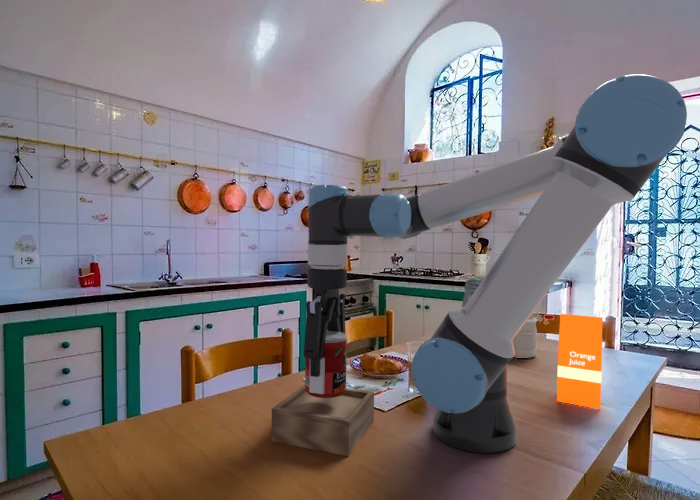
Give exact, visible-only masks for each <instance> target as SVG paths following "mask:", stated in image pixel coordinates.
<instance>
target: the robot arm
mask: <svg viewBox="0 0 700 500" xmlns="http://www.w3.org/2000/svg"><path fill="white" fill-rule="evenodd" d="M687 119H688V112H687V105H686V102H685V99H684V98H683V96H682V93H680V92H679V90H678V89H677V87H675V85H673V84H671V83H670V82H668V81H667V80H665V79H664V78H660V77H658V76H654V75H648V74H628V75H627V74H626V75H623V76H620V77H616V78H614V79H610V80H609V81H607V82H604V83H603V84H601V85H600V86H598V87H597V88H596V89H594V90H593V91H592V92H591V93H590V94H589V96H587V98H586V99H585V100H584V102H583V103H582V104H581V106H580V108H579V110H578V113H577V115H576V119H575V123H574V126H573V128H572V129H571V131H570V132H569V134H568V133H567V134H566V135H562V136H561V137H558V138H557V140H556V142H555V144H554V145H553V146H550V147H548V148H544V149H542V150H539V151H535V152H533V153H530V154H526V155H524V156H521V157H519V158H516V159H513V160H510V161H507V162H505V163H502V164H500V165H496V166H492V167H490V168H487V169H485V170H482V171H479V172H476V173H474V174H471V175H468V176H465V177H462V178H459V179H457V180H454V181H451V182H448V183H445V184H443V185H442V184H441V185H440V186H436V187H433V188H431V189H428V190H425V191H422V192H420V193H418V194H414V195H412V196H409V197H406V196H405V195H403V194H397V193H395V194H393V193H382V194H365V195H364V194H362V195H350V194H349V189H348V188H347V186H344V185H340V184H319V185H318V184H317V185H314V186H312V187H311V188H309V192H308V196H309V197H308V205H307V213H308V214H307V215H308V218H307V219H308V222H307V223H308V243H307V244H308V245H307V246H308V247H307V249H306V254H307V265H308V266H310V267H309V268H308V269H307V286H308V288H309V289H314V295H313V300H312V301H311V300H310V301H309V300H307V301H306V303H305V308H306V309H305V311H306V319H305V332H304V345H303V357H304V358H305V357H307V358H310V377H309V392H311V393H317V394H324V389H325V358H323V351H324V345H325V339H326V332H327V331H333V332H342V333H344V334H346V315H345V313H346V312H345V302H346V301H345V300H346V293H340V290H341V289H346V287H347V284H348V280H347V279H348V270H347V269H346V268H345V267H346V266H347V265H348V239H349V237H367V238H368V237H369V238H370V237H371V238H372V237H373V238H374V237H375V238H385V239H386V238H403V239H410V238H414V237H418V236H419V235H420V234H421V233H423V232H424V233H425V232H426V231H429V230H432V229H436V228H438V227H442V226H445V225H448V224H451V223H456V222H458V221H459V222H460V221H462V220H465V219H468V218H472V217H475V216H478V215H482V214H485V213H488V212H493V211H495V210H499V209H502V208H505V207H508V206H511V205H514V204H518V203H522V202H525V201H528V200H531V199H535V198H537V200H536V201H535V203H534V204H533V206H532V208H531V209H530V211H529V212H528V213H527V215H526V216H525V218H524V219H523V220H522V222H521V223H520V225H519V226H518V228H517V229H516V231H515V232H514V234H513V236H512V237H511V238H510V240H509V241H508V243H507V244H506V246H505V247H504V248H503V250H502V251H501V253H500V255H499V256H498V257H497V259H496V260H495V261H494V263H493V264H492V266H491V267H490V269H489V270H488V271H487V273H486V275H485V277H484V279H483V280H482V282H481V283H480V285H479V286H478V288H477V289H476V290H475V292H474V293H473V295H472V296H471V298H470V299H469V301H468V302H467V304H466V305H465V306H464V307H462V306H461V307H454V308H451V309H450V310H449V311H448V313H447V314H446V315H445V316H444V318H443V320H442V321H441V323H440V324H439V326H438V327H437V329H436V330H435V332H434V333H433V335H432V336H431V338H429V339H428V340H426V341H424V342H423V343H422V344H420V345H419V347H418V349H417V350H416V352H415V353H414V355H413V358H412V361H411V376H412V380H413V383H414V386H415V388H416V390H417V391H418V393H419V394H420V395H419V396H421V397H422V398H423V399H424V400H425V401H426V402H427V404H429V405H430V406H431V407H433V408H435V409H436V410H435V413H434V417H433V433H434V435H435V436H436V437H437V438H438V439H439V441H441V442H443V443H445V444H446V445H448V446H450V447H453V448H456V449H458V450H463V451H468V452H472V453H479V454H481V453H483V454H494V453H501V452H505V451H507V450H511V448H513V447H514V446H515V445H516V441H517V440H516V439H517V429H516V425H515V421H514V418H513V414H512V411H511V408H510V405H509V402H508V397H507V395H508V391H507V390H508V364H509V363H510V361H511V360H513V359H514V358H513V356H514V355H515V351H514V346H513V338H514V337H515V336H516V334H517V333H518V332H519V330H520V329H521V328H522V326H523V325H524V324H525V322H526V321H527V320H528V318H529V317H530V315H531V314H532V313H533V311H534V312H535V310H536V309H537V307H538V306H540V305H539V304H540V303H541V302H542V300H544V298H545V297H546V295H547V294H548V293H549V291H550V290H551V289H552V288H553V286H554V285H555V283H556V282H557V281H558V279H559V278H560V277H561V275H562V274H563V273H564V271H565V270H566V269H567V267H568V266H569V265H570V263H571V262H572V261H573V259H574V258H575V257H576V255H577V254H578V252H579V251H580V250H581V249H582V247H583V246H584V245H585V243H586V242H587V241H588V239H589V238H590V236H592V234H593V232H594V231H596V228H597V227H598V226H599V225H600V223H601V222H602V220H603V219H604V218H605V216H606V215H607V214H608V213H609V212H610V210H611V208H612V207H613V206H615V205H616V204H622V203H625V202H629V201H632V200H633V199H634V198H635V197H636V195H637V194H638V193H639V191H640V190H641V189H642V188H643V186H644V185H645V184H646V183H647V181H648V179H650V177H651V176H652V174H653V173H654V172H655V170H656V169H657V168H658V167H659V165H660V164H662V163H661V162H662V161H663V160H664V158H665V157H666V156H667V155H668V154H670V153H671V151H673V150H674V149H675V148H676V147H677V146H678V144H679V143H680V141H681V139H682V137H683V136H684V134H685V131H686V125H687Z"/></svg>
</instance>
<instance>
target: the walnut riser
mask: <svg viewBox="0 0 700 500" xmlns="http://www.w3.org/2000/svg"><path fill="white" fill-rule="evenodd" d="M374 405H375V392H374V391H370V390H369V391H368V390H363V389H362V390H361V389H356V388H355V389H354V388H347V387H346V389H345V392H344V393H343V394H342V395H340V396H338V397H334V398H318V397H314V396H311V395H309V394H308V393H307V392H306V388H305V384H304V385H302V386H301V387H300V388H298V389H297V390H295V391H293V392H292V393H291V394H290V395H288V396H287V397H285V398H284V399H283V400H281V401H280V402H279V403H277V404H276V405H275V406H273V407H272V408H271V440H270V441H271V442H273V443H274V442H275V443H278V444H284V445H289V446H295V447H300V448H304V449H309V450H310V449H311V450H314V451H320V452H326V453H330V454H335V455H338V456H339V455H340V456H345V457H349V456H350V455H351V454H352V452H353V451H354V449H355V448H356V447H357V445H358V444H359V442H360V441H361V440H362V438H363V437H364V436H365V434H366V433H367V432H368V430H369V429H370V427H371V426H372V424H373V423H375V422H374V420H375V406H374Z"/></svg>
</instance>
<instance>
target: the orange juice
mask: <svg viewBox="0 0 700 500" xmlns="http://www.w3.org/2000/svg"><path fill="white" fill-rule="evenodd" d="M559 317H560V318H559V319H560V320H559V330H558V331H559V332H558V349H557V351H558V352H557V373H556V374H557V387H556V391H557V392H556V402H557V401H559V402H564V403H570V404H575V405H580V406H579V407H581V406H586V407H592V408H598V409H600V410H601V404H602V403H601V401H602V400H601V395H602V375H603V374H602V373H603V372H602V369H603V368H602V365H603V317H600V316H590V315H589V316H588V315H578V314H577V315H576V314H567V313H560V315H559ZM559 402H558V403H559ZM564 403H563V404H564ZM570 404H569V405H570ZM575 405H574V406H575ZM586 407H585V408H586Z"/></svg>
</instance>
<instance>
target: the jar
mask: <svg viewBox="0 0 700 500" xmlns="http://www.w3.org/2000/svg"><path fill="white" fill-rule="evenodd" d="M534 314H536V312H535V310H534V311H533V313H532V314H531V315H530V317H529V318H528V320H527V321H526V322H525V324H524V325H523V326H522V328H521V329H520V330H519V332H518V333H517V334H516V336H515V337H514V338H513V346H514V351H515V355H514V356H513V357H521V358H526V357H533V356H535V355H536V356H537V352H538V351H537V350H538V349H537V335H538V334H537V332H538V329H537V325H536V323H537V322H538V319H537V317H535V315H534ZM536 356H535V357H536Z"/></svg>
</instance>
